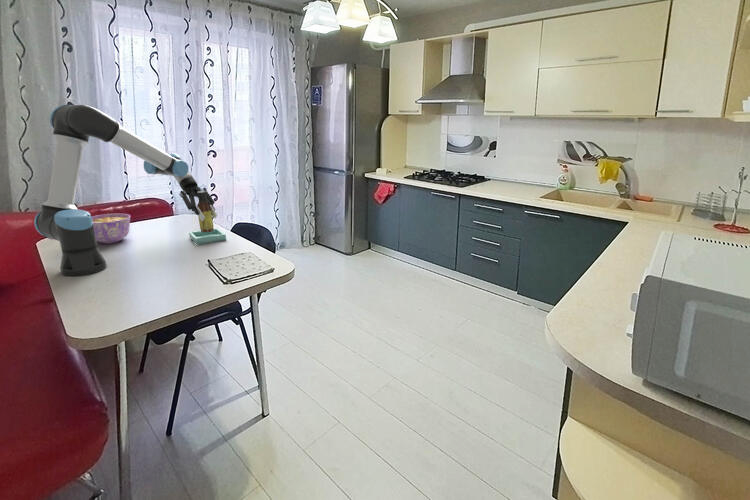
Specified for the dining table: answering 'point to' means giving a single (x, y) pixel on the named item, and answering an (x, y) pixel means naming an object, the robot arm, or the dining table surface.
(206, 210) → the sauce bottle
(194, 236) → the tray
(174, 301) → the dining table surface
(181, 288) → the dining table surface
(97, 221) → the bowl of food
